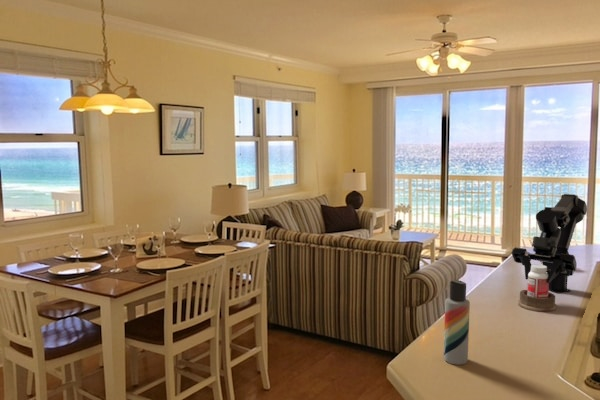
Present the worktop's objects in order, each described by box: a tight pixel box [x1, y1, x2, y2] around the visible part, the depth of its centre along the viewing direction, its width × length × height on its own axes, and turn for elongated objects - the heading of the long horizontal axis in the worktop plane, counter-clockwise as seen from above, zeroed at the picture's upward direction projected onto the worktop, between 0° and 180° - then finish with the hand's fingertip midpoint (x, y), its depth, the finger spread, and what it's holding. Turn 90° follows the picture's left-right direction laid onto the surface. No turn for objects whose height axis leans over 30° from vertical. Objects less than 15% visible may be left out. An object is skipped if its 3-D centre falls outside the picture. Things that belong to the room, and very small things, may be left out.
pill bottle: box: [526, 264, 550, 298], centre depth 161 cm, size 6×6×11 cm
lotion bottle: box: [443, 279, 471, 366], centre depth 121 cm, size 6×6×20 cm
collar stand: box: [517, 289, 557, 313], centre depth 161 cm, size 11×11×4 cm
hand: (536, 280), depth 160 cm, fingers closed on pill bottle, 6 cm apart
